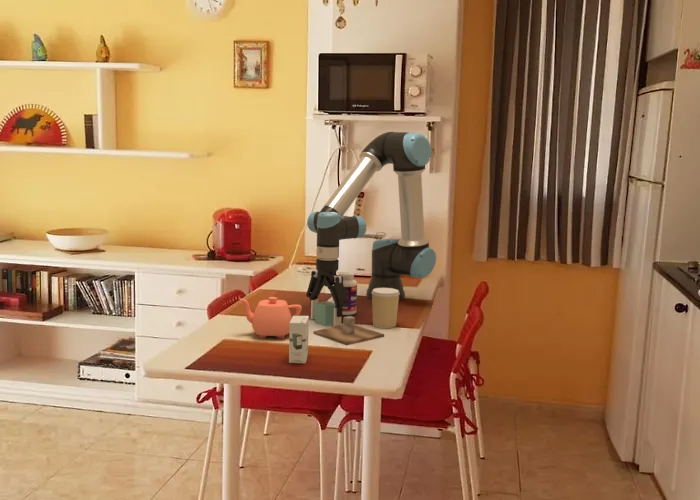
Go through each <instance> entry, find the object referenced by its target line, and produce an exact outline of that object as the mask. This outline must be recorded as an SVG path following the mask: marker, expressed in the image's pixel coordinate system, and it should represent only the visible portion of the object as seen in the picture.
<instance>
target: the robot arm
mask: <svg viewBox="0 0 700 500" xmlns="http://www.w3.org/2000/svg"><path fill="white" fill-rule="evenodd" d="M431 157H432V147H431V144H430V141H429V139H428V138H427V137H426V136H425V135H424V134H423V133H417V132H413V131H411V132H410V131H402V132H400V131H387V132H384V133H381V134H380V135H378V136H376V137H375V138H374V139H372V140H371V141H370V142H369V143H368V144H367V145H366V146H365V147H364V149H363V150H362V151H361V152H360V154H359V159H358V161H357V162H356V164H354V166H353V167H352V169H351V170H350V171H349V173H348V174H347V175H346V176H345V178H344V179H343V181H342V182H341V183H340V185H339V186H338V187H337V188H336V190H335V191H334V192H333V194H332V195H331V196H330V198H329V199H328V200H327V202H326V203H325V204H324V205H323V206H322V208H321V210H319V211H313V212H312V213H310V214H309V216H308V218H307V228H308V229H309V231H311V232H312V233H315V234H316V255H315V256H316V260H315V261H316V262H315V269H316V270H311V273H310V280H309V284H308V287H307V289H306V290H307V291H306V297H307V298H309V300H310V304H309V305H310V306H309V307H310V320H315V306H316V303H320V302H319V295H320V293H321V292H322V290H323V288H324V287H326V288H327V289H328V290H329V292H330V294H331V297H332V300H333V303H334V302H335V305H336V306H335V307H334V324H333V327H336V326H341V325H342V318H343V315H342V310H343V307H344V306H347V300H346V295H345V290H344V285H343V277H342V276H341V277H338V274H337V272H338V271H339V266H340V265H339V263H340V262H339V261H340V260H339V258H340V241H341V240H350V239H351V240H352V239H354V240H356V239H359V238H362V237H363V236H364V235H365V234H366V232H367V223H366V220H365V219H364V218H363V217H362V216H360V215H359V216H357V215H352V216H348V215H345V214H346V212H347V211H348V210H349V208H350V207H351V206H352V204H353V203H354V202H355V201H356V199H357V197H359V195H360V194H361V192H363V190H364V188H365V187H366V185H367V184H368V183H369V182H370V180H371V179H372V177H373V176H374V174H375V173H376V172H379V171H381V170H383V167H385V166H386V165H389V164H392V167H393V171H392V172H394V173H395V174H396V176H397V181H398V183H397V184H398V198H399V200H398V201H399V214H400V216H399V217H400V218H399V219H400V234H401V235H400V236H401V238H385V239H384V238H383V239H377V240H374V241H373V243H372V249H371V277H370V280H369V283H368V288H367V289H366V291H365V292H366V293H365V294H366V295H365V296H366V298H368V299H369V300H372V291H373V289H375V288H393V289H397V290H398V291H399V293H400V294H399V301H402V300H404V299H405V298H406V293H405V290H404V284H403V282H402V281H403V280H402V275H403V276H407V277H411V278H416V279H417V278H419V279H424V278H427V277H428V276H429V275H430V274H431V273H432V272H433V270H434V268H435V266H436V263H437V255H436V251H435V250H434V249H433V248H431V247H430V240H429V239H428V238H426V237H425V222H424V221H425V220H424V219H425V218H424V199H423V183H422V182H423V181H422V180H423V179H422V173H424V172H425V170H426V165H427V164H428V163H429V162H430V158H431ZM338 302H339V303H338ZM343 302H344V303H343Z"/></svg>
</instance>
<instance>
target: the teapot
mask: <svg viewBox="0 0 700 500" xmlns="http://www.w3.org/2000/svg"><path fill="white" fill-rule="evenodd" d="M238 300H239V301H241V303H242V304H243V307H244V312H245V318H246V319H247V320H246V321H247V322H249V323H250V324H251V326H252V329H253V332H254V333H255V334H256V335H257V336H258V338H259V339H266V338H267V337H276V338H277V339H279V338H280V339H279V340H281V338H282V339H285V338H286V337H285V336H287V335H288V334H289V330H290V321H291V319H292V317H293V316H301V312H302V310H303V306H302V305H301V304H288V302H287V301H286V300H283V299H278V297H276V296H269V297H268V298H267V299H262V300H260V301H259V302H258V304H257V306H256V308H255V311H254V312H252V311H251V307H250V303H249V300H247V299H245V298H240V297H239V298H238ZM291 309H295V313H294V315H292V311H291Z"/></svg>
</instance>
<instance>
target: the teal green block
mask: <svg viewBox="0 0 700 500" xmlns="http://www.w3.org/2000/svg"><path fill="white" fill-rule="evenodd" d="M335 306H336V305H335V303H334V302H332V301H328V300H326V301H321V302H319V303H316V306H315V319H314V322H315V323H317V324H319V325H322V326H329V325H334V307H335Z"/></svg>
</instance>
